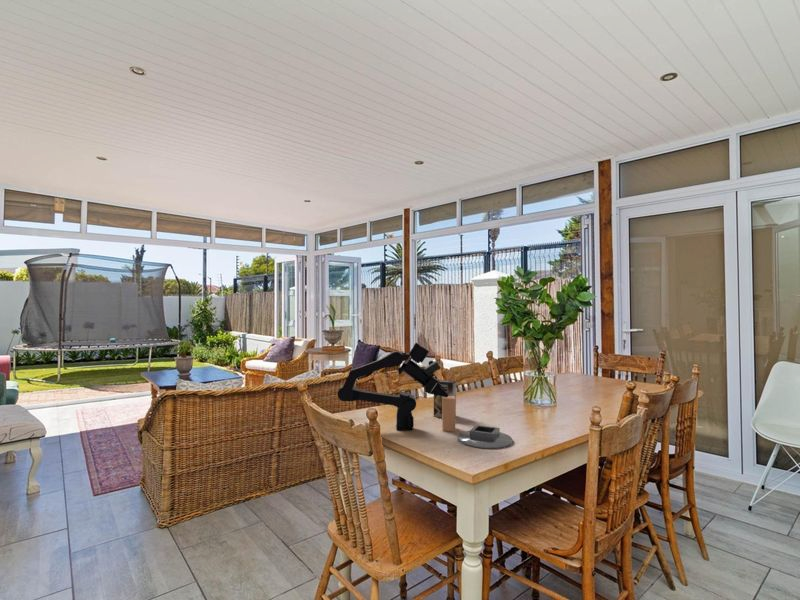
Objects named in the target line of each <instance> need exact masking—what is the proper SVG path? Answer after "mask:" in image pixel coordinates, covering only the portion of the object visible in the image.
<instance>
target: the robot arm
mask: <svg viewBox="0 0 800 600" xmlns="http://www.w3.org/2000/svg"><path fill="white" fill-rule="evenodd" d="M429 353H431V352H430V350H429V349H427V348H426V347H425V346H423V345H421V344H419V343H418V342H415V343H414V344H413V346H412V348H411V349H410V351H409V352H401V351H399V350H393V351H392V352H390V353H388V354H387V355H385V356H383V357H382V358H380V359H378V360H375V361H371V362H369V363H366V364H364V365H361V366H359V367H354V368H352V369H350V371H348V375H347V377H346V380H345V382H344V384H343V385H342V386H341V387H339V390H338V391H337V397H338V399H339V401H341V402H355V401H356V402H357V401H363V402H370V403H374V404H375V403H376V404H381V405H389V406H393V407H396V408H397V409H396V412H395V414H396V423H395V428H396V430H397V431H413V428H414V424H415V423H414V419H415V418H414V416H413V413H412V411H414V410H415V409H416V408H417V399H416V397H415V395H414V394H411V393H410V392H404V391H401V390H400V391H399V394H389V393H385V392H384V393H382V392H376V391H372V390H371V391H370V390H363V389H361V388H358V387H356V386H355V384H356V383H357V379H358V378H360V377H363V376H366V375H368V374H371V373H374V372H377V371H379V370H383V369H387V368H394V367H396V368H397V371H398V372H397V373H398V375H401V374H402V373H404V374H406V375H407V376H408V377H410V378H412V379H413V381H415V382H416V383H419V384H420V385H421V386H422V387H423V389H424V391H425V393H426V394H428V395H433V396H434V395H439V396H443V397H448V394H447V393H446V390H445V389H444V388H443V386H442V385H441V384H440V383H439V381H438V380H439V379H438V378H437V375H436V373H435V372H437V371H439V370H440V369H442V367H441V365H440V364H439V362H438V361H437V360H434V361H433V360H429V361H428V362H427V363H428V365H426V367H424V366H420V365H419V363H423V362H424V360H425V359H426V358H427V356H428V354H429ZM405 361H406V362H405Z"/></svg>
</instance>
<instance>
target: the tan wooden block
mask: <svg viewBox="0 0 800 600" xmlns="http://www.w3.org/2000/svg"><path fill="white" fill-rule="evenodd" d="M441 429H442V432H456V416H455V396H448V397H443V396H442V417H441Z"/></svg>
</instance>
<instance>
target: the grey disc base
mask: <svg viewBox="0 0 800 600" xmlns="http://www.w3.org/2000/svg"><path fill="white" fill-rule="evenodd" d="M457 441H458V442H459V443H461V445H465V446H467V447H472V448H476V449H485V450H494V449H495V450H497V449H504V447H505V448H507V446H508V447H510V446H512V445H513V438H512V437H511V435H509V434H506V433H503V432H501V429H500V427H494V426H486V425H479V424H476V425H474V426H473V427H472V428H471V429H470V430H465V431H462V432H460V433H458V434H457Z"/></svg>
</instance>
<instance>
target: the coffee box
mask: <svg viewBox="0 0 800 600" xmlns="http://www.w3.org/2000/svg"><path fill="white" fill-rule="evenodd" d="M437 380H438V381H439V383H440V384H441V385H442V386H443V388H444V389H445V390H446V393H447V394H448V396H455V417H456V416H457V413H456V412H457V411H456V410H457V381H456V380H447V379H437ZM434 416H435V418H442V396H439V395H434V394H433V417H434Z"/></svg>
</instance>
